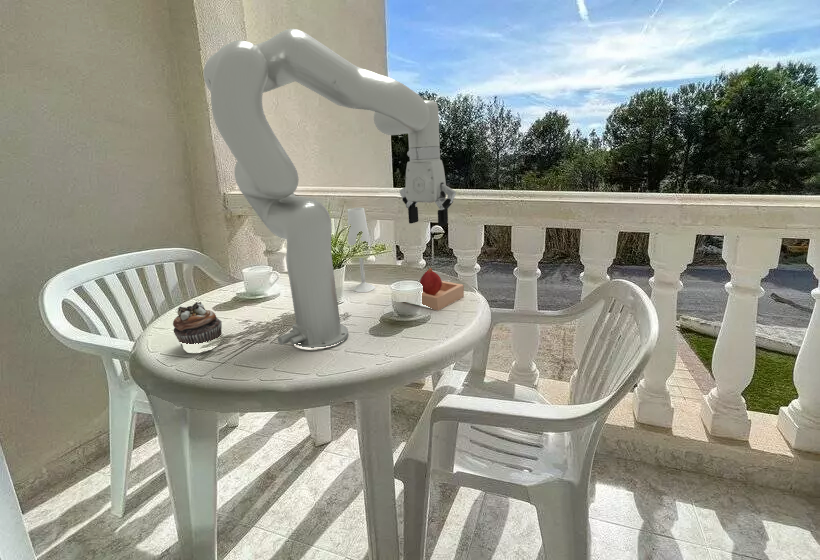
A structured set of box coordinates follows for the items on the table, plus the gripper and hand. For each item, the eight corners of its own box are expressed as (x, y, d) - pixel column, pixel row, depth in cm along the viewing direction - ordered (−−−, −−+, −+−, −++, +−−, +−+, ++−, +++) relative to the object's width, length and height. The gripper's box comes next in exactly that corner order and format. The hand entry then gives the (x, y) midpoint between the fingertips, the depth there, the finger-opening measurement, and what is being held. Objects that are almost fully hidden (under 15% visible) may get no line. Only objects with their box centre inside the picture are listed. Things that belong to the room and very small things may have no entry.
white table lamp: (364, 283, 132) (356, 206, 125) (379, 286, 128) (372, 207, 121) (348, 289, 127) (339, 210, 120) (363, 293, 123) (355, 211, 116)
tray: (437, 310, 107) (437, 298, 106) (402, 302, 114) (401, 290, 113) (463, 296, 115) (463, 284, 114) (429, 289, 123) (428, 278, 122)
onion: (419, 300, 112) (416, 271, 110) (424, 293, 117) (421, 265, 115) (440, 299, 110) (437, 270, 108) (444, 292, 116) (442, 264, 113)
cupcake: (190, 360, 89) (180, 316, 86) (172, 348, 96) (161, 307, 93) (233, 343, 96) (224, 302, 93) (213, 333, 102) (205, 294, 99)
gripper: (388, 157, 107) (393, 224, 112) (443, 154, 96) (446, 229, 101) (408, 155, 112) (412, 219, 117) (462, 152, 101) (464, 223, 106)
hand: (428, 223), depth 109 cm, fingers open, 9 cm apart
